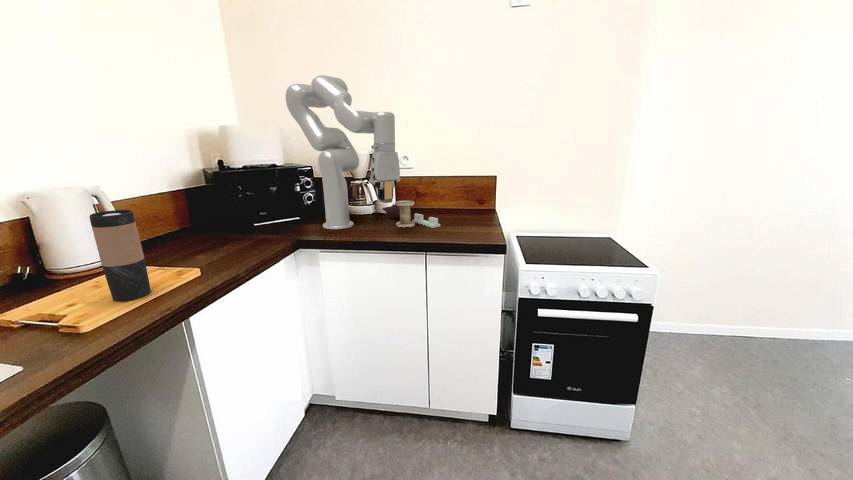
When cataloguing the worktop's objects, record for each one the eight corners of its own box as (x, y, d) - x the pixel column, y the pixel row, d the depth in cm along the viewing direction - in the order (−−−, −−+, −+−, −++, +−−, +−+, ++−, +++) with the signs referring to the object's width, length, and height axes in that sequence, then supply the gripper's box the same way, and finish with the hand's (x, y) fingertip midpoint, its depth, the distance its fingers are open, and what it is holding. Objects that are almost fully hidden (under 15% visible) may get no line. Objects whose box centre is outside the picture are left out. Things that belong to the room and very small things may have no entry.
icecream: (375, 204, 163) (401, 211, 155) (386, 198, 168) (411, 204, 160) (378, 218, 167) (403, 225, 159) (388, 211, 172) (413, 218, 164)
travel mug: (159, 288, 89) (141, 209, 83) (136, 302, 81) (115, 216, 76) (128, 289, 88) (107, 209, 83) (102, 302, 81) (78, 216, 76)
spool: (392, 225, 151) (391, 202, 149) (407, 222, 156) (406, 199, 153) (403, 228, 145) (402, 204, 143) (418, 225, 150) (418, 202, 148)
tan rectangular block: (379, 201, 134) (378, 180, 131) (386, 200, 136) (385, 179, 133) (385, 203, 131) (384, 181, 128) (392, 202, 133) (392, 180, 130)
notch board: (412, 222, 157) (412, 214, 156) (419, 220, 159) (419, 213, 158) (433, 227, 146) (433, 219, 145) (440, 226, 149) (440, 218, 148)
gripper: (370, 149, 120) (372, 203, 125) (409, 148, 130) (409, 198, 135) (359, 148, 125) (361, 200, 131) (397, 147, 135) (397, 195, 141)
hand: (385, 198), depth 133 cm, fingers closed on tan rectangular block, 3 cm apart
